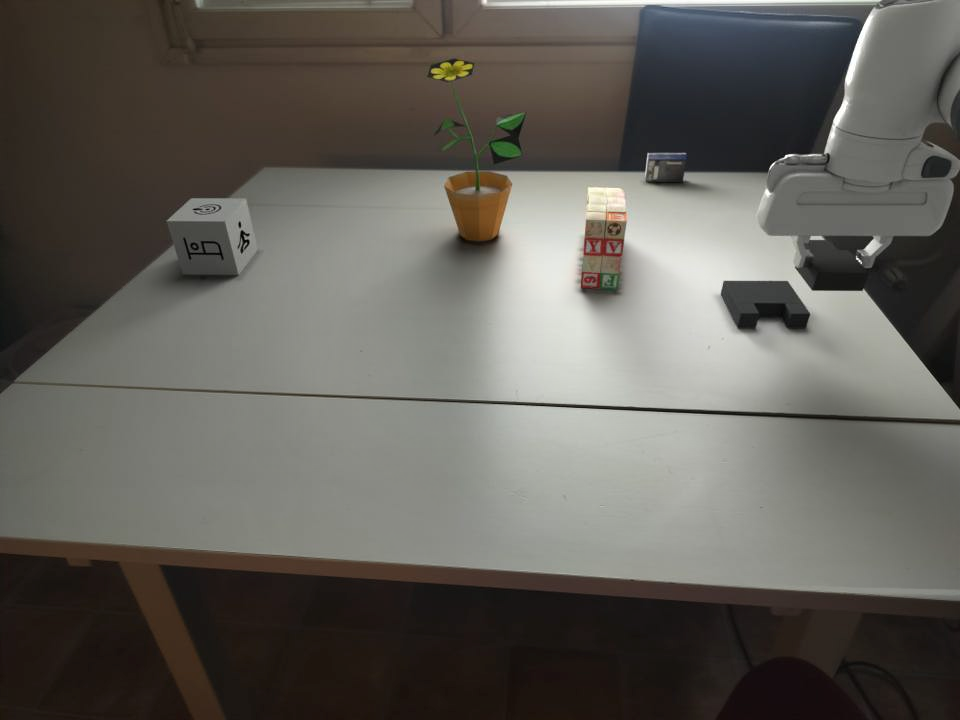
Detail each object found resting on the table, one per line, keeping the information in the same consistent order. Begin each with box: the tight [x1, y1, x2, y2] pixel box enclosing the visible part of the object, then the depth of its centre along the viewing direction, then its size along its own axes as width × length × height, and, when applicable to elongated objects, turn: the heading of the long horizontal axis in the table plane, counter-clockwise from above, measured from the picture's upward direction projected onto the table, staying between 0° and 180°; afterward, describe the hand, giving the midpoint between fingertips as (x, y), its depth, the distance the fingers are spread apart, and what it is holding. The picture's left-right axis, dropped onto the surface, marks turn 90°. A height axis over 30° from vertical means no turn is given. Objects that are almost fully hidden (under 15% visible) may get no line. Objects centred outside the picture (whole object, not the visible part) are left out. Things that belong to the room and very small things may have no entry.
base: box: [720, 280, 811, 329], centre depth 102 cm, size 10×10×2 cm
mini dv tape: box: [644, 152, 688, 183], centre depth 147 cm, size 8×2×6 cm, turn 86°
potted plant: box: [426, 58, 528, 242], centre depth 119 cm, size 18×19×30 cm
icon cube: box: [166, 197, 259, 276], centre depth 117 cm, size 10×10×10 cm
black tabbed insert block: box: [794, 239, 870, 292], centre depth 83 cm, size 6×9×2 cm, turn 178°
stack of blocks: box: [580, 187, 628, 291], centre depth 114 cm, size 21×6×12 cm, turn 171°
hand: (831, 266), depth 82 cm, fingers closed on black tabbed insert block, 6 cm apart
